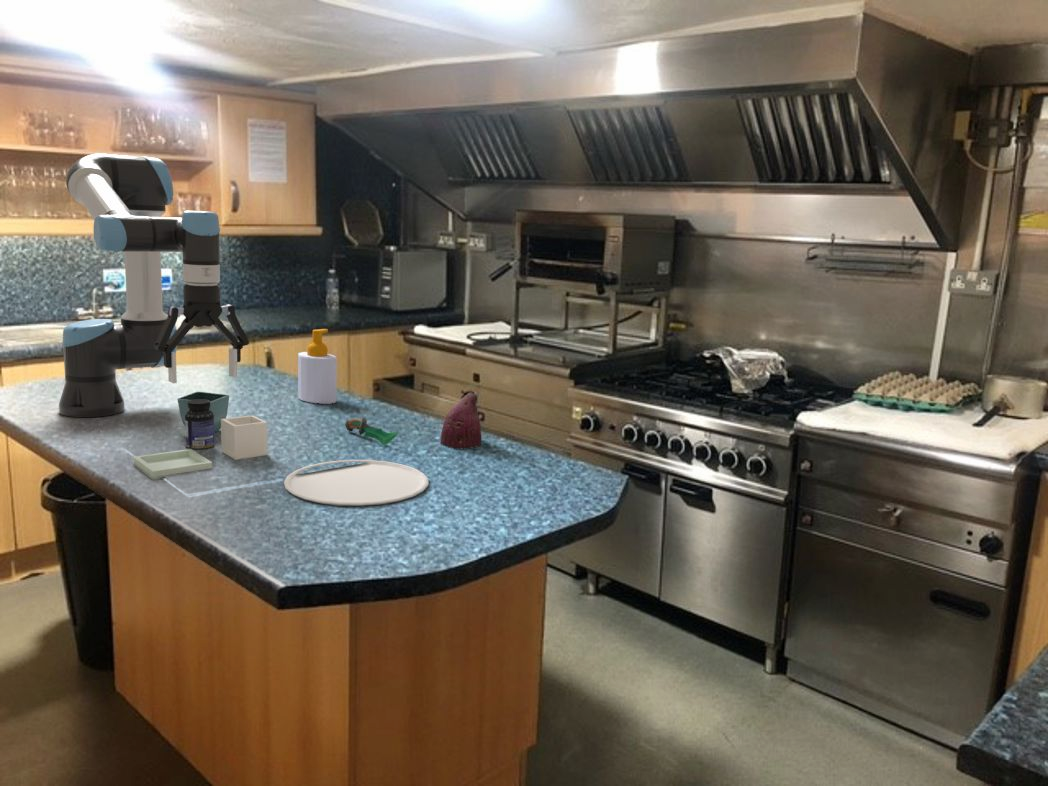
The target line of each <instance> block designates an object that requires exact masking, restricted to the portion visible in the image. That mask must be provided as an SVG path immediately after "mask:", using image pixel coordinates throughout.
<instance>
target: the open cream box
mask: <svg viewBox="0 0 1048 786" xmlns="http://www.w3.org/2000/svg"><path fill="white" fill-rule="evenodd" d="M220 441H221V444H220V445H221V452H222V454H225V455H227V456H228V457H230V459H231V458H232V459H234V460H243V459H249V458H255V457H262V456H263V457H264V456H268V422H267V421H265V420H264V419H261V418H260V417H257V416H255V415H254V414H253V415H252V414H251V415H244V416H235V417H228V418H227V417H226V419H221V429H220Z"/></svg>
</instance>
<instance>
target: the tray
mask: <svg viewBox="0 0 1048 786" xmlns="http://www.w3.org/2000/svg"><path fill="white" fill-rule="evenodd" d="M132 462H133V463H132V464H133V466H134V467H135V466H136V467H135V468H137V469H138V470H139V471H141V472H142V473H143V474H144V475H146V476H147V477H148V478H149V479H151V480H152V481H156V480H162V479H166V477H165V476H171V475H176V474H177V475H178V474H184V473H191V472H196V471H203V470H209V469H213V462H212V461H211V460H209V459H207V458H206V457H205V456H203V455H201V454H199V453H198V452H197V451H196V450H192V449H188V448H186V449H179V450H172V451H166V452H165V451H164V452H157V453H151V454H143V455H137V456H132Z"/></svg>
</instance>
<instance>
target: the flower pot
mask: <svg viewBox="0 0 1048 786" xmlns="http://www.w3.org/2000/svg"><path fill="white" fill-rule="evenodd" d="M195 399H206V400H209V401H210V407H209V410H210V411H212V412H213V414H214V433H216V432H217V433H218V432H219V431H221V419H226V418H227V417H228V410H229V401H230V394H224V393H223V394H222V393H217V392H216V393H214V392H207V391H195V392H192V393H189V394H186V395H183V396H180V397H178V398H177V404H178V405H177V406H178V409H179V415H180V419H181V422H182V424H183V425H184V427H185V414H186V413H187V412H188V411H189V408H188V401H190V400H195Z"/></svg>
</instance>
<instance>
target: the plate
mask: <svg viewBox="0 0 1048 786" xmlns="http://www.w3.org/2000/svg"><path fill="white" fill-rule="evenodd" d="M354 462H355V463H356V462H357V463H356V464H350V465H345V466H338V467H334V468H328V469H322V470H317V471H311V472H304V473H300V472H303V471H305V470H308V469H310V468H311V469H312V468H315V467H319V466H323V465H329V464H337V463H354ZM359 462H360V463H359ZM299 473H300V474H299ZM283 485H284V488H285V490H286V491H287V492H289V493H291V495H293V496H295V497H297V498H300V499H302V500H304V501H305V500H306V501H309V502H314V503H318V504H323V505H333V506H346V507H347V506H348V507H349V506H350V507H351V506H352V507H363V506H365V507H367V506H376V505H377V506H378V505H384V504H385V505H386V504H391V503H396V502H400V501H404V500H407V499H411V498H414V497H415V496H417V495H419V494H421V493H423V492H424V491H425V490H426V489H427V488H428V487H429V478H428V476H426V474H425V473H423V472H422V471H421V470H419V469H417V468H415V467H411V466H408V465H405V464H401V463H397V462H392V461H384V460H377V459H376V460H374V459H344V460H343V459H341V460H333V461H325V462H323V461H322V462H319V463H314V464H311V465H306V466H303V467H301V468H299V469H296V470H294V471H293V472H291V473H290V474H288V475H286V477H285V479H284V480H283Z"/></svg>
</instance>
